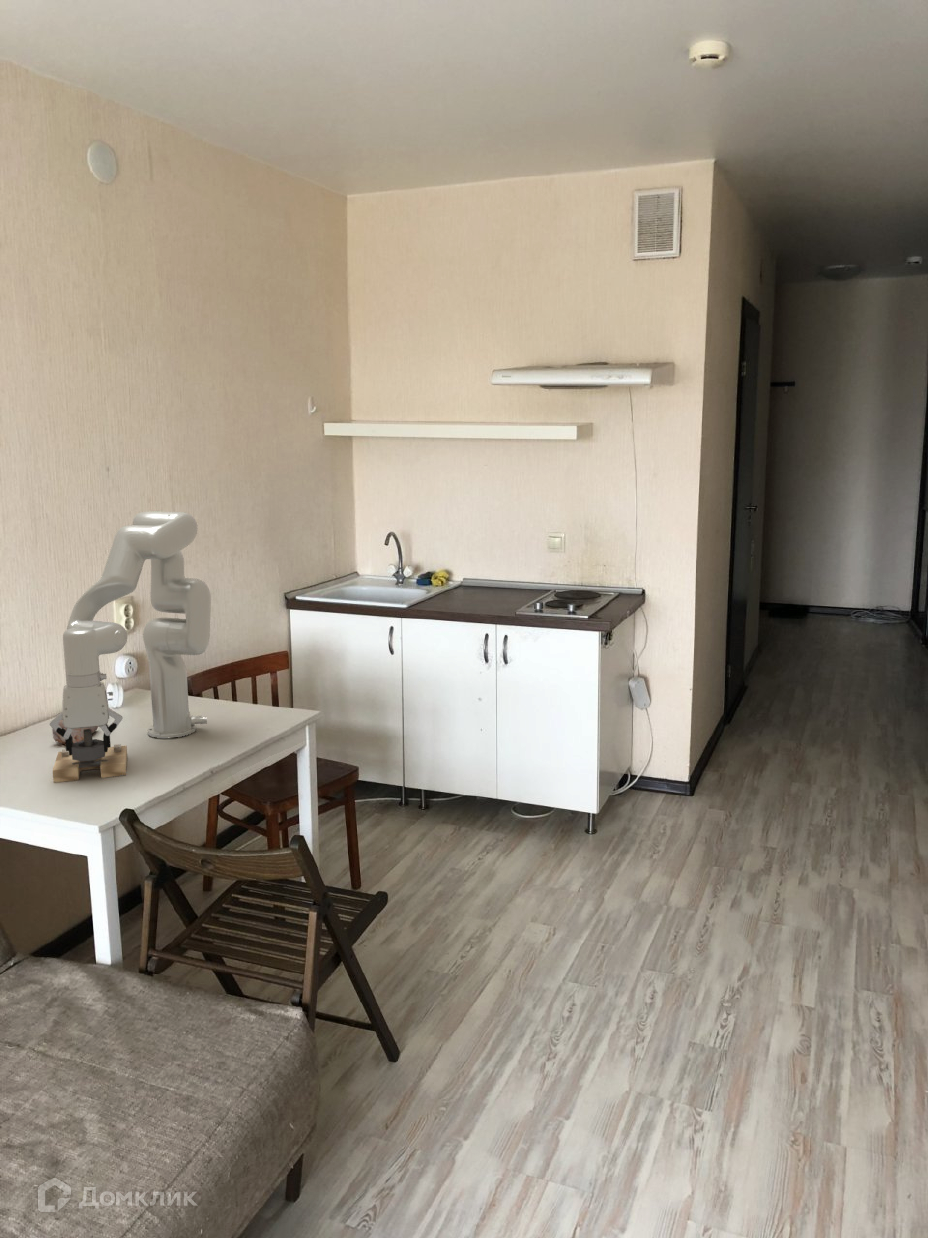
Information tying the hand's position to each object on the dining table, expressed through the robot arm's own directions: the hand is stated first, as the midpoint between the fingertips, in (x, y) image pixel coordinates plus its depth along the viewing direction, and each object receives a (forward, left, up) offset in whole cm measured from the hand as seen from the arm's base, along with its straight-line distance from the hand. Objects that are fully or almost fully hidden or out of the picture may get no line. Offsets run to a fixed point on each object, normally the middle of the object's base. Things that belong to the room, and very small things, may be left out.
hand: (88, 751), depth 235 cm
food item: (+5, -31, -6) cm, 32 cm away
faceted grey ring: (0, 0, -1) cm, 1 cm away
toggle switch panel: (0, -4, -6) cm, 7 cm away
